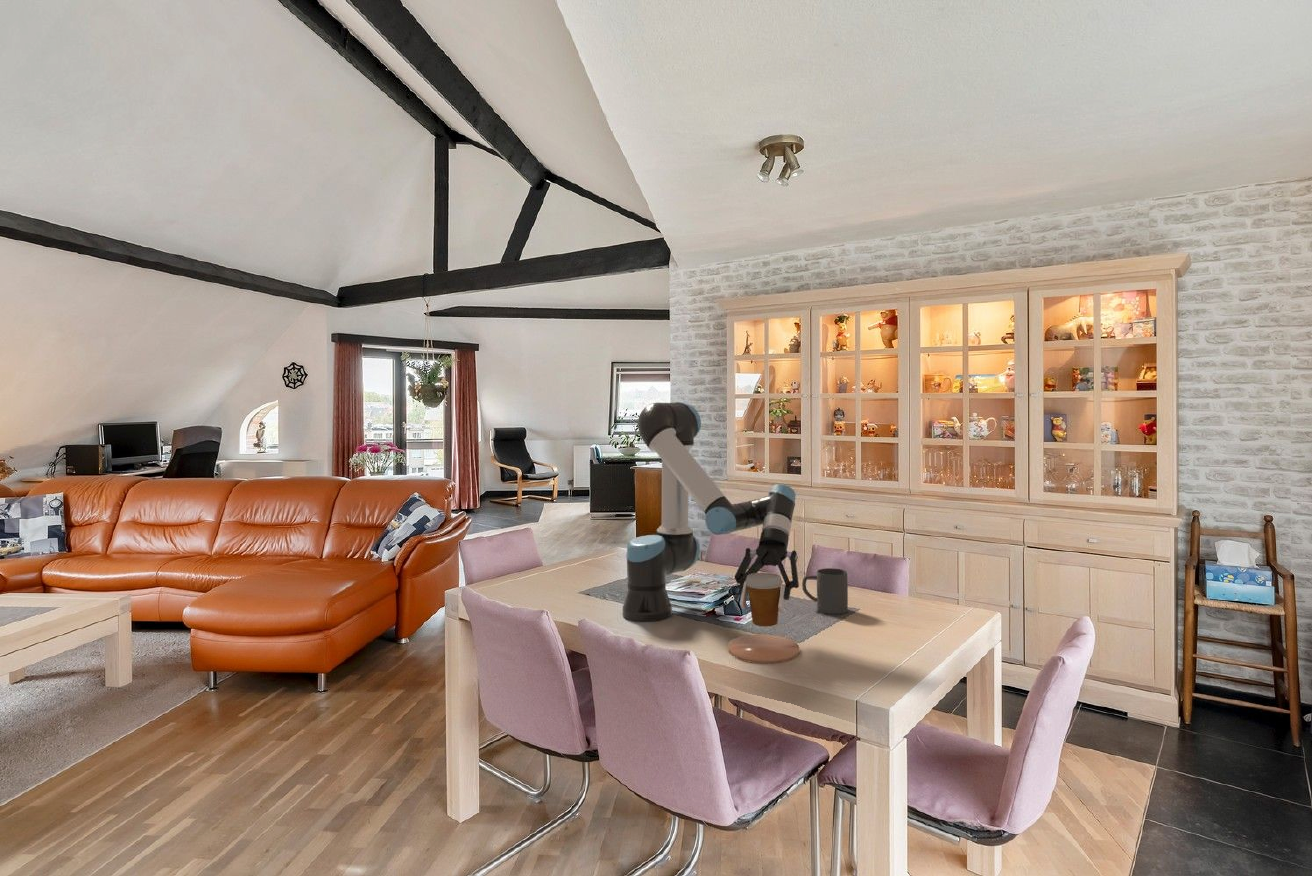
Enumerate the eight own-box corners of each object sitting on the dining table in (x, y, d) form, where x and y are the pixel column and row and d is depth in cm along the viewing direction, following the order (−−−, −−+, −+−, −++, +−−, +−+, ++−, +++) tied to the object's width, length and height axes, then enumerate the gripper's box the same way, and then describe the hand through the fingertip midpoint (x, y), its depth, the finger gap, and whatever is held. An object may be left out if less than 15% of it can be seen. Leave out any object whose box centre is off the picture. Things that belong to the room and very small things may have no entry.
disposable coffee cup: (783, 629, 168) (782, 581, 168) (744, 628, 170) (743, 580, 170) (784, 617, 178) (783, 572, 177) (747, 616, 180) (746, 571, 179)
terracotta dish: (713, 650, 175) (713, 645, 175) (759, 634, 187) (759, 629, 187) (768, 669, 162) (768, 664, 162) (813, 650, 174) (813, 645, 174)
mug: (849, 607, 211) (848, 569, 210) (846, 616, 202) (845, 576, 202) (804, 603, 216) (804, 566, 215) (800, 612, 207) (799, 573, 207)
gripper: (817, 544, 183) (807, 619, 169) (739, 540, 192) (723, 611, 178) (813, 528, 178) (802, 604, 164) (733, 525, 187) (716, 596, 173)
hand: (761, 608), depth 171 cm, fingers closed on disposable coffee cup, 9 cm apart
